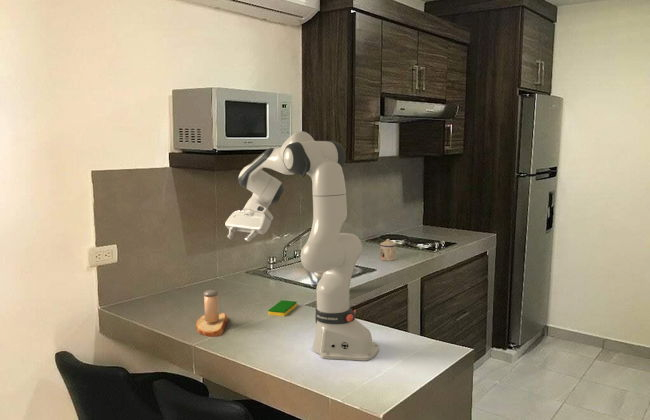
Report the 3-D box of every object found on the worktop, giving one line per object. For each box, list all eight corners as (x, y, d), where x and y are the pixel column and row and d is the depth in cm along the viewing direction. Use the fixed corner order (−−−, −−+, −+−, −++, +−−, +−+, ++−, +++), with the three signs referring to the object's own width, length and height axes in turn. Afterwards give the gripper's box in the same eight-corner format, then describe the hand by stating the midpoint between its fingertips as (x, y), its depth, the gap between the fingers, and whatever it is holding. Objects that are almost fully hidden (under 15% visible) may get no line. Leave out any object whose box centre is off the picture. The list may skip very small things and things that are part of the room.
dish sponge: (297, 306, 235) (297, 301, 235) (284, 317, 222) (284, 311, 222) (281, 305, 237) (281, 299, 237) (268, 315, 224) (268, 310, 224)
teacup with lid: (378, 257, 319) (378, 237, 317) (394, 257, 320) (394, 237, 318) (382, 262, 307) (382, 242, 305) (398, 262, 308) (399, 241, 306)
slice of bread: (213, 339, 200) (213, 330, 199) (180, 329, 210) (179, 320, 210) (247, 325, 214) (247, 315, 214) (215, 316, 225) (214, 307, 224)
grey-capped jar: (221, 317, 214) (220, 290, 212) (215, 322, 208) (214, 294, 207) (208, 316, 215) (207, 289, 213) (202, 321, 210) (200, 293, 208)
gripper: (231, 205, 229) (215, 232, 223) (269, 208, 217) (253, 237, 211) (239, 214, 233) (223, 241, 227) (276, 218, 222) (261, 246, 215)
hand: (238, 239), depth 219 cm, fingers open, 8 cm apart
